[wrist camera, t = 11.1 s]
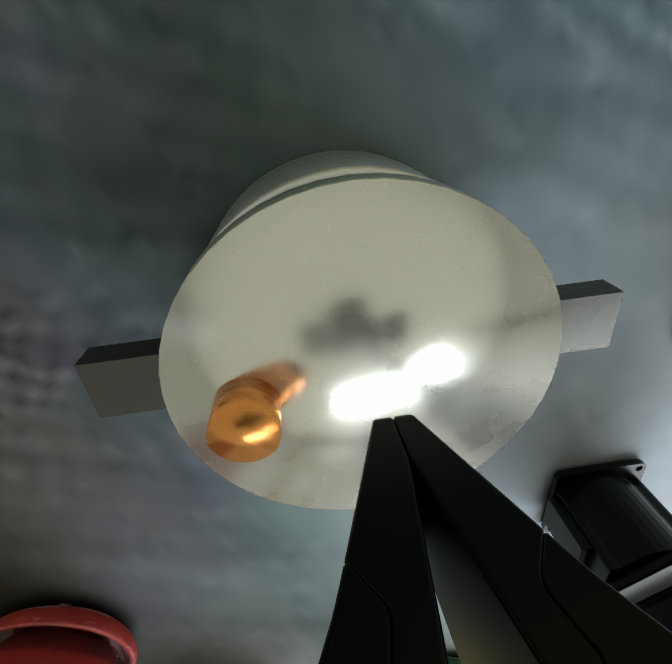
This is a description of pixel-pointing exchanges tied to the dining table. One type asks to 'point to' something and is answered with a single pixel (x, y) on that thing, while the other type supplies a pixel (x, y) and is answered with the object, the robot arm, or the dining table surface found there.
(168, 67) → the dining table surface
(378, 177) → the cooker lid
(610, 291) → the cooker pot
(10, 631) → the plant pot
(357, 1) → the dining table surface
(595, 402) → the dining table surface
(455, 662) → the coffee jar
